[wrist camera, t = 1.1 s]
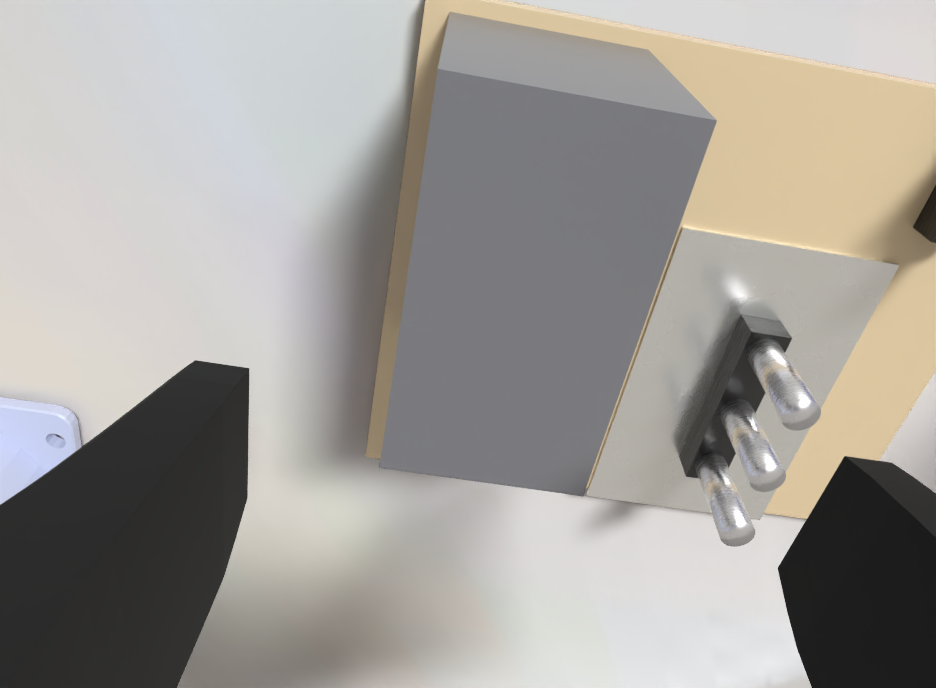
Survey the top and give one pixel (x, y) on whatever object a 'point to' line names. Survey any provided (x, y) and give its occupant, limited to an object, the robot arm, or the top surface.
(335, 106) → the top surface
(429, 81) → the tan square board
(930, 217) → the header plain
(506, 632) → the top surface
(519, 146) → the plug housing
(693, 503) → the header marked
